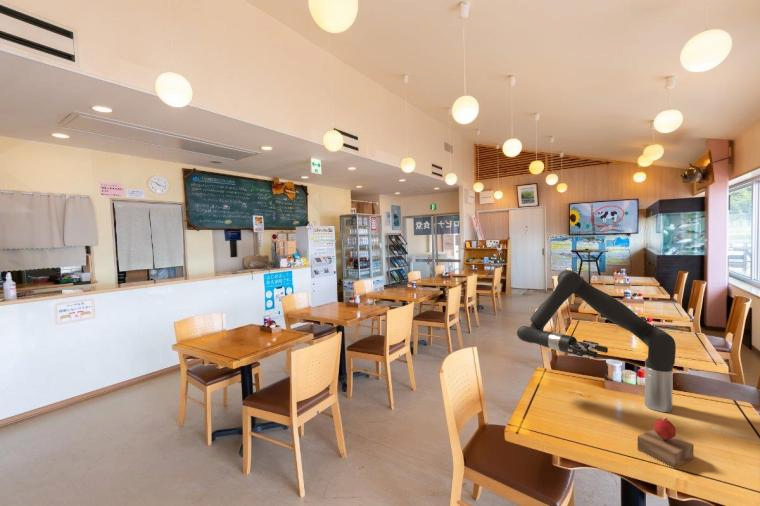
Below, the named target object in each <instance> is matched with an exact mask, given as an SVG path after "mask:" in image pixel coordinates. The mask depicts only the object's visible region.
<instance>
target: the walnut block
mask: <svg viewBox="0 0 760 506" xmlns="http://www.w3.org/2000/svg"><path fill="white" fill-rule="evenodd" d="M694 446H695V445H694V443H692V442H689V441H687V440H685V439H682V438H680V437H678V436H676V435H675V436H674V437H673V438H671V439H668V440H663V439H662V438H661V437H660V436H659V435H658V434H657V433H656V432H655V430H654V428H652V429H651V430H648V431H647V432H644V433H642V434H639V435H637V451H639V452H641V453H642V452H643V454H644V453H645V455H646V454H647V456H648V455H649V456H648V457H650V456H651V457H650V458H652V457H653V458H652V459H654V458H655V459H654V460H656V459H657V460H656V461H658V460H659V461H658V462H660V461H661V462H660V463H662V462H663V463H662V464H664V463H665V464H664V465H666V464H667V465H666V466H668V465H669V466H668V467H670V466H671V467H670V468H672V467H673V468H672V469H674V468H675V469H677V468H679V467H681V466H682V465H681V464H683V465H684V463H685V462H686V463H688V462H690V461H692V460H693V459H694ZM691 459H692V460H691ZM689 460H690V461H689ZM687 461H688V462H687ZM686 463H685V464H686ZM680 465H681V466H680ZM678 466H679V467H678ZM676 467H677V468H676Z"/></svg>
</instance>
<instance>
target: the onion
mask: <svg viewBox="0 0 760 506" xmlns="http://www.w3.org/2000/svg"><path fill="white" fill-rule="evenodd" d="M653 429H654V430H655V432H656V433H657V434H658V435H659V436H660V437H661V438H662V439H663V440H668V439H671V438H673V437H674V436H676V434H677V433H676V432H677V430H676V427H675V425H674V424H673V423H672V422H671V421H669V420H668V417H666V416H664V417H662V418H659V419H658V420H656V421H654V424H653Z"/></svg>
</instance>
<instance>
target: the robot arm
mask: <svg viewBox="0 0 760 506" xmlns="http://www.w3.org/2000/svg"><path fill="white" fill-rule="evenodd" d="M572 295H575V296H577V297H579V298H580V299H581V300H583V302H585V303H586V304H587V305H588V306H590V307H591V308H592V309H593V310H594V311H596V313H597V314H599V315H600V316H602V317H604V318H605V319H607V320H608V321H610V323H613V324H614V325H616V326H619V327H620V328H623V329H625V330H627V331H629V332H631V334H632V335H634V336H635V337H637V338H638V339H639V340H640V341H641V342H642V343H644V344H645V346H647V352H648V353H647V358H645V361H644V365H645V366H644V405H645V406H646V408H649V409H651V410H653V411H656V412H659V413H660V412H661V413H669V412H672V411H673V393H674V392H673V391H674V389H673V388H674V387H673V380H674V377H673V375H674V373H673V369H674V365H675V363H676V350H677V349H676V348H677V347H676V341H675V339H674V337H673V336H672V335H670V334H669V333H667V332H666V331H664V330H663V329H661V328H658V327H657V326H654V325H653V324H651V323H649V322H648V321H646V320H644V319H643V318H641V317H639V315H637V314H636V312H634V311H633V310H632V309H631V308H629V307H628V306H626V304H624V303H622V302H621V301H620V300H618V299H617V298H615V297H613V296H611V295H610V294H608V293H606V292H604V291H602V290H601V289H599V288H596V287H595V286H593V285H591V284H590V283H589V282H588V281H586V280H585V279H584V278H582V277H581V275H580V274H579V273H578V272H576V271H574V270H572V269H566V270H562V271H560V272H559V274H558V275H557V285H556V287H555V288H554V290H553V292H552V293H551V294H550V295H549V296H548V297H547V298H546V299H545V300H544V301H543V302H542V303H541V304H540V306H538V308H537V309H536V310H535V311H534V313H533V314H532V315H531V317H530V322H531V323H530V326H527V325H523V326H520V327H519V328H518V329H517V330H516V335H517V337H518V339H519V340H521V341H522V342H526V343H529V344H536V345H538V346H539V345H540V346H543V347H545V348H549V349H552V350H554V351H558V352H561V353H565V354H569V355H576V356H579V357H583V356H585V357H592V358H598V357H599V353H598V352H601V353H605V354H607V353H608V352H609V348H608V347H607V346H603V345H599V343H598V342H595V341H590V340H585V339H584V340H581V341H578V340H577V338H576V337H575V336H572V335H568V334H564V333H559V332H551V331H548V330H544V329H545V326H546V325H547V324H548V323H549V322H550V321H551V319H552V318H553V316H555V314H556V313H557V311H558V310H559V309H560V308H561V306H562V305H563V304H564V303H565V302H566V301H567V300H568V299H569V298H570V297H571V296H572ZM597 351H598V352H597Z"/></svg>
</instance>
